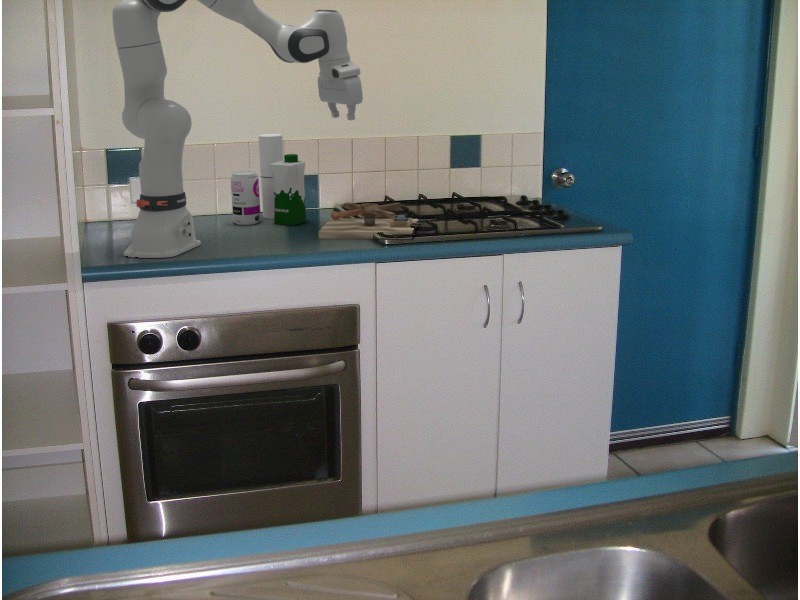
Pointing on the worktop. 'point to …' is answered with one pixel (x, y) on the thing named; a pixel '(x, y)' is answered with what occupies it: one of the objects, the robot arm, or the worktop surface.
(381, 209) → the capstan
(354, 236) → the stand
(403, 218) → the ball
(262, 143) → the cylindrical container
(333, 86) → the robot arm
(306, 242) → the worktop surface
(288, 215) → the milk carton
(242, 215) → the supplement can
